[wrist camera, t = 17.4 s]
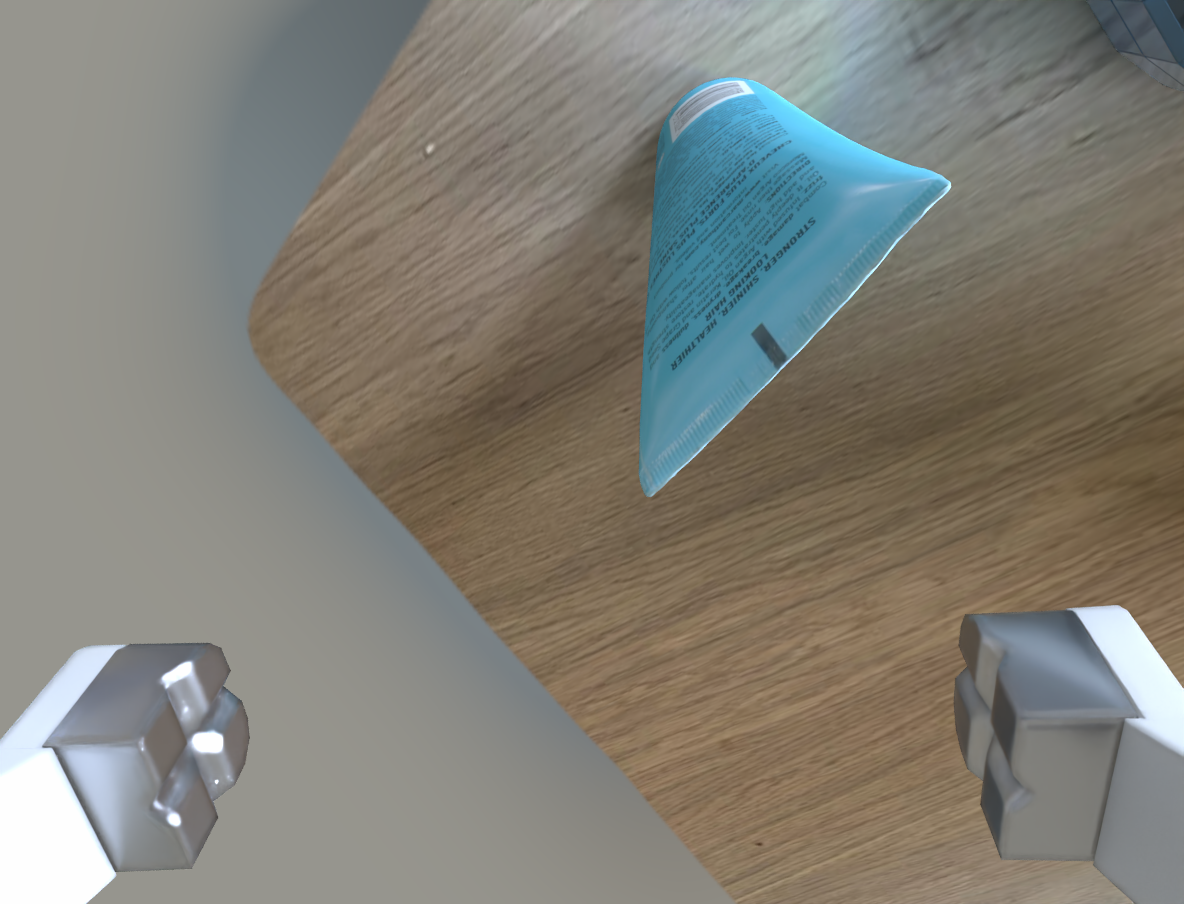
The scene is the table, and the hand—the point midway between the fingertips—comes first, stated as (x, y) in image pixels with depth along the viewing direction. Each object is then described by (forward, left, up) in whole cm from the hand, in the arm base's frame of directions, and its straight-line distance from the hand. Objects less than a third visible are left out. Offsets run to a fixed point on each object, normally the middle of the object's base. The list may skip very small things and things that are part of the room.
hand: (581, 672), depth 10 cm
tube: (-1, +3, -27) cm, 27 cm away
